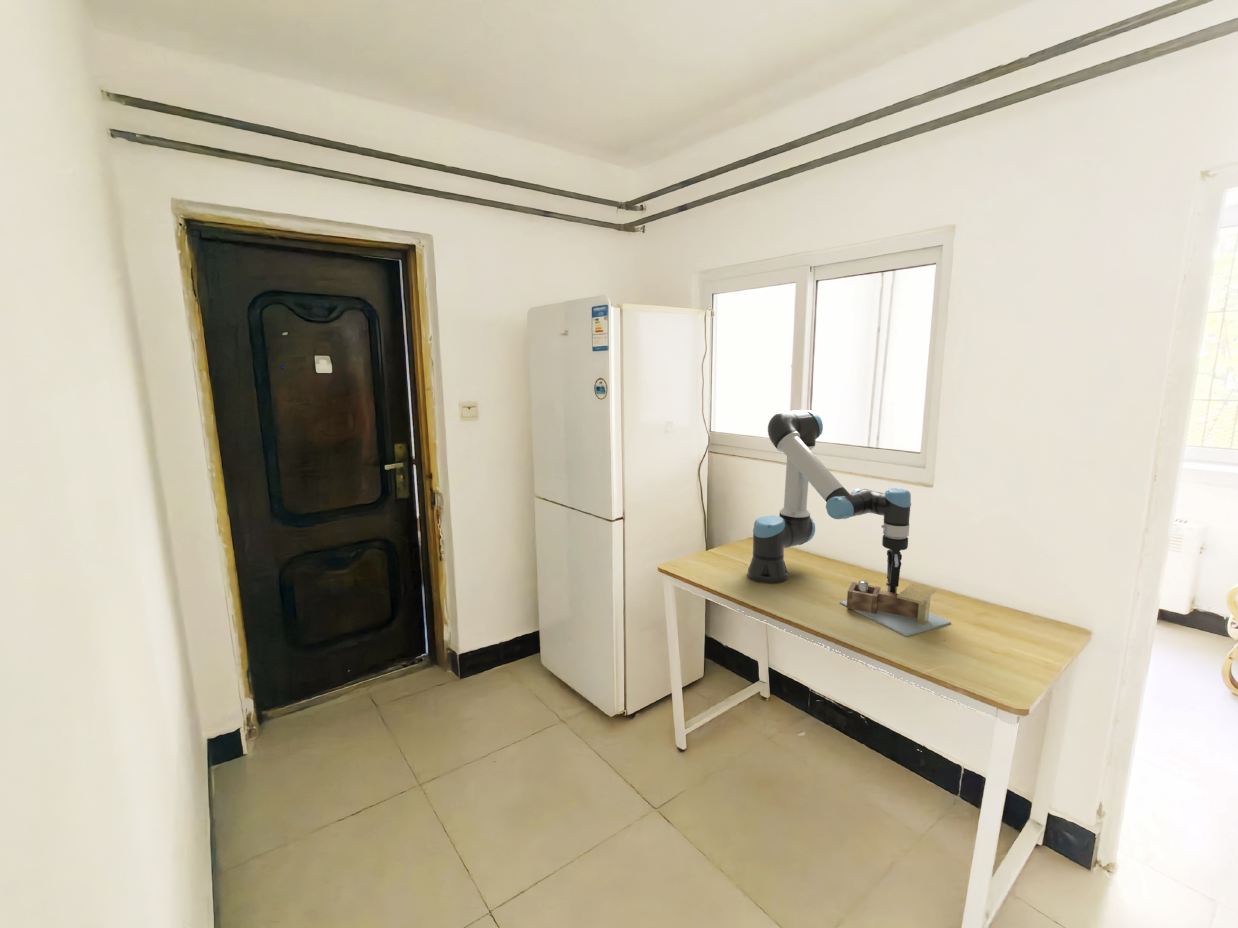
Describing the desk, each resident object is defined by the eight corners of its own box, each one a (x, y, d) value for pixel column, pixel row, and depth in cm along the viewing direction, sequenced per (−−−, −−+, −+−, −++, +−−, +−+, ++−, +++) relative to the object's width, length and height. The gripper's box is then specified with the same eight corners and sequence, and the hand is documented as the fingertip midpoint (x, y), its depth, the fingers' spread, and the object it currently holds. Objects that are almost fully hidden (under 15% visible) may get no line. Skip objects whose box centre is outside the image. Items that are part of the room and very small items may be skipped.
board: (839, 603, 184) (839, 601, 184) (881, 592, 192) (881, 591, 191) (906, 636, 160) (906, 634, 160) (950, 623, 168) (950, 621, 168)
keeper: (894, 624, 168) (897, 595, 166) (909, 611, 177) (911, 583, 175) (918, 631, 163) (921, 601, 161) (932, 618, 172) (935, 589, 170)
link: (846, 607, 179) (847, 590, 178) (851, 597, 186) (852, 581, 185) (917, 622, 168) (919, 604, 167) (919, 611, 175) (921, 594, 174)
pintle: (855, 604, 183) (856, 581, 181) (861, 602, 184) (863, 579, 182) (862, 607, 180) (863, 584, 178) (868, 606, 181) (870, 582, 180)
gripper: (880, 529, 182) (876, 593, 186) (885, 540, 170) (881, 609, 174) (905, 530, 179) (900, 596, 183) (911, 542, 167) (906, 612, 172)
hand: (891, 602), depth 179 cm, fingers closed
